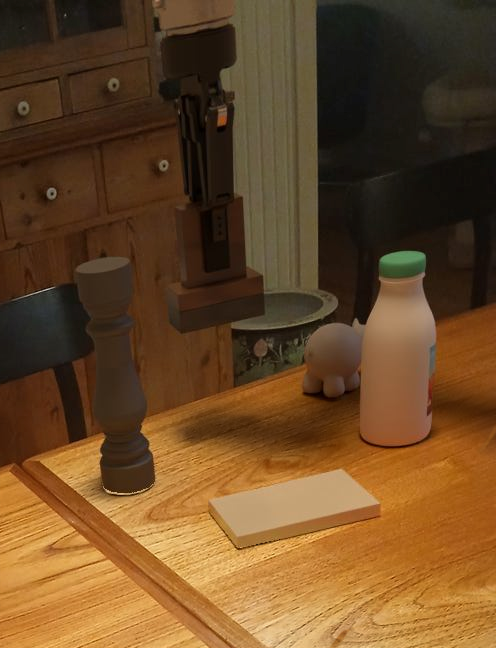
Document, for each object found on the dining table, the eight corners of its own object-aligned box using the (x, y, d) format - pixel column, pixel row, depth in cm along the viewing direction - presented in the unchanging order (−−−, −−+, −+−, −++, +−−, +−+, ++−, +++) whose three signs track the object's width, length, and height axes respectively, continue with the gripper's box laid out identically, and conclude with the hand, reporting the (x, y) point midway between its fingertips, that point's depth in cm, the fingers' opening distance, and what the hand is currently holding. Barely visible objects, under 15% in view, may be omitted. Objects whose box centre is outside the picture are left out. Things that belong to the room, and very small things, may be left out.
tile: (341, 480, 107) (342, 468, 106) (380, 515, 99) (381, 502, 98) (208, 512, 106) (207, 499, 105) (237, 549, 99) (237, 536, 98)
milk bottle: (416, 451, 109) (427, 267, 98) (348, 443, 114) (352, 266, 103) (440, 423, 114) (453, 245, 103) (373, 417, 118) (379, 245, 107)
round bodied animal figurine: (401, 375, 127) (404, 309, 123) (333, 405, 123) (334, 338, 119) (358, 364, 133) (360, 300, 128) (292, 393, 129) (291, 328, 124)
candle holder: (153, 468, 117) (130, 252, 104) (157, 491, 112) (134, 267, 98) (101, 476, 118) (72, 262, 104) (103, 499, 113) (73, 277, 99)
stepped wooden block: (249, 304, 117) (244, 188, 110) (265, 314, 113) (260, 194, 106) (169, 323, 117) (158, 207, 110) (181, 334, 113) (170, 215, 106)
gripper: (140, 34, 106) (162, 260, 118) (183, 36, 92) (202, 289, 105) (208, 20, 106) (222, 246, 119) (260, 19, 93) (269, 274, 106)
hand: (212, 266), depth 112 cm, fingers closed on stepped wooden block, 3 cm apart
